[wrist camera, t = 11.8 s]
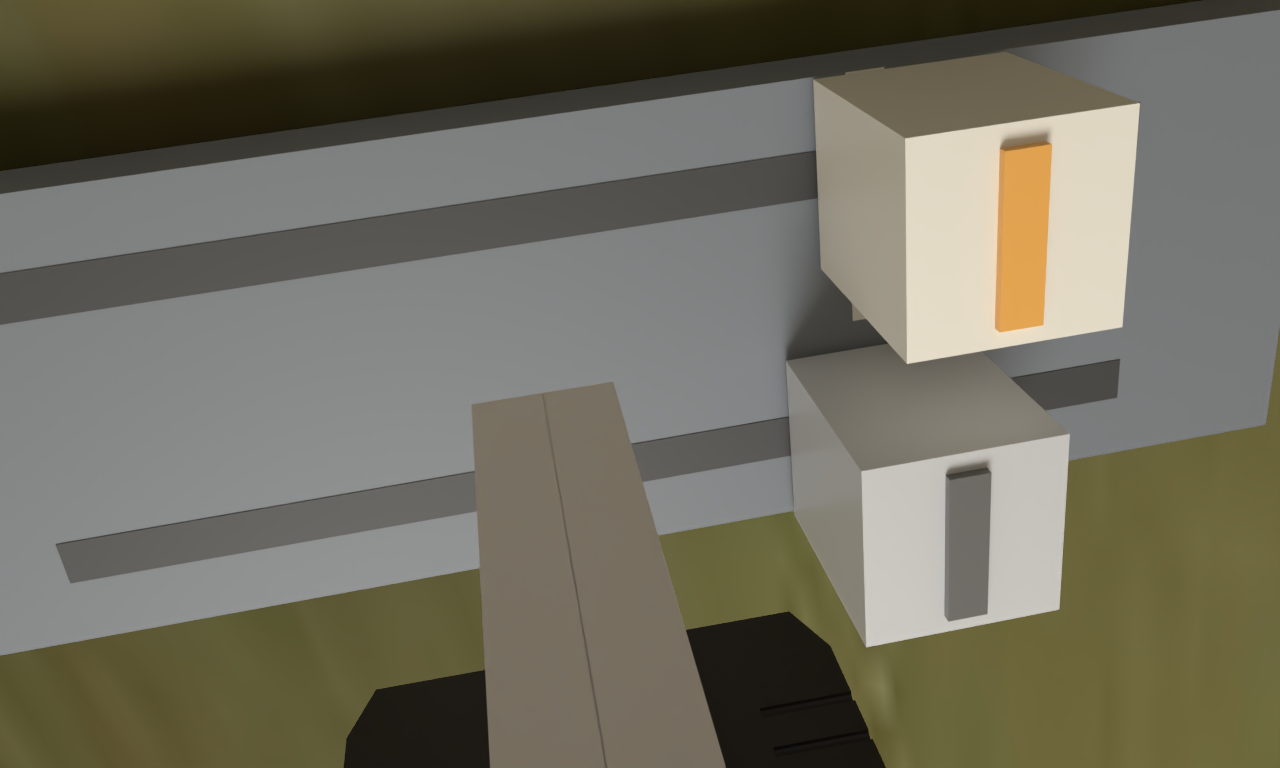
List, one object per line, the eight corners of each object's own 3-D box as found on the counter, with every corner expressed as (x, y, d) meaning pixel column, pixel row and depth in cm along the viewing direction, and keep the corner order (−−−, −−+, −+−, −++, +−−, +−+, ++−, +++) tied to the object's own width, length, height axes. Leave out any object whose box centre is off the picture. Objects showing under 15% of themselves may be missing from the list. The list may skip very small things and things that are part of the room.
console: (-250, 206, 23) (-307, 238, 21) (1265, -9, 27) (1326, 3, 25) (-64, 618, 28) (-98, 674, 26) (1216, 390, 31) (1266, 425, 29)
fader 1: (813, 79, 23) (910, 141, 19) (1005, 51, 24) (1146, 105, 19) (820, 268, 25) (911, 368, 21) (999, 240, 26) (1128, 331, 21)
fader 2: (785, 361, 26) (864, 477, 21) (960, 331, 26) (1074, 439, 22) (794, 515, 28) (869, 653, 23) (957, 485, 28) (1063, 615, 23)
